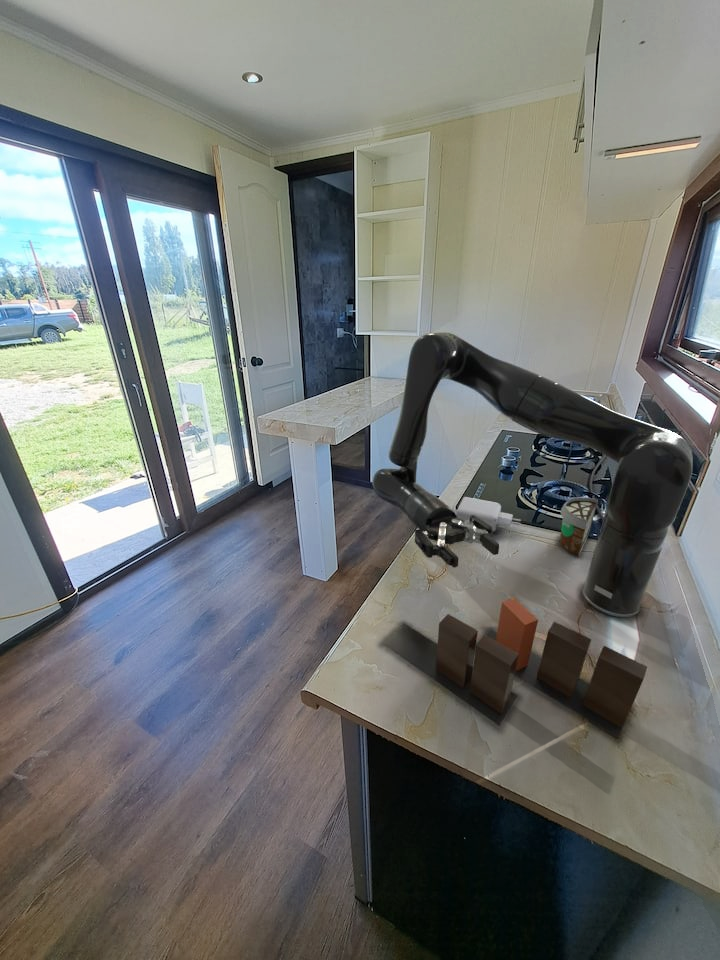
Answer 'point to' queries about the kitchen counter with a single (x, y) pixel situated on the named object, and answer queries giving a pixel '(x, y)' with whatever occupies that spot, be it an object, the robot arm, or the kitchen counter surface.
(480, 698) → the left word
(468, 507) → the charger
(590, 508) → the food container
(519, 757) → the kitchen counter surface
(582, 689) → the brown notched block
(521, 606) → the orange upright brick
